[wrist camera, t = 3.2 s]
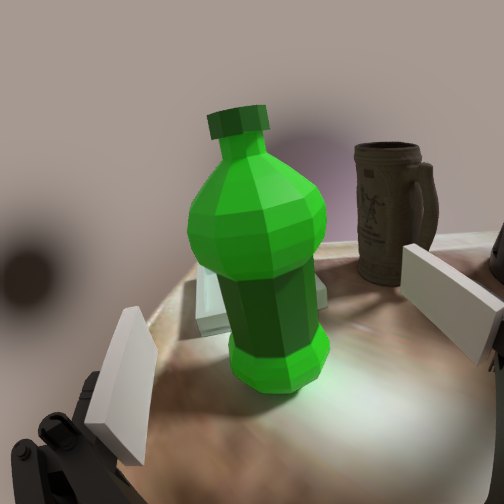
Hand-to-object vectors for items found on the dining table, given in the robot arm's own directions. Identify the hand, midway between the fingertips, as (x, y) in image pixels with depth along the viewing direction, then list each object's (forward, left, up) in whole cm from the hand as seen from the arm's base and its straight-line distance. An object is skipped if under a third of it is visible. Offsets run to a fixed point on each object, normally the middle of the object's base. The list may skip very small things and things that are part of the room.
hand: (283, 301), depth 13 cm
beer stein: (-23, -22, -16) cm, 35 cm away
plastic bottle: (-1, -10, -16) cm, 19 cm away
